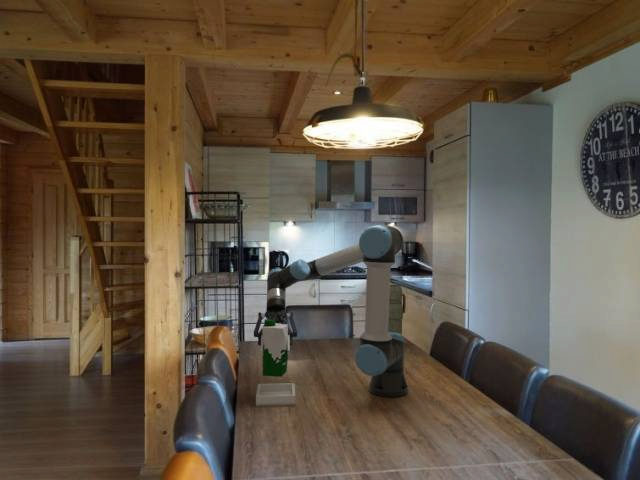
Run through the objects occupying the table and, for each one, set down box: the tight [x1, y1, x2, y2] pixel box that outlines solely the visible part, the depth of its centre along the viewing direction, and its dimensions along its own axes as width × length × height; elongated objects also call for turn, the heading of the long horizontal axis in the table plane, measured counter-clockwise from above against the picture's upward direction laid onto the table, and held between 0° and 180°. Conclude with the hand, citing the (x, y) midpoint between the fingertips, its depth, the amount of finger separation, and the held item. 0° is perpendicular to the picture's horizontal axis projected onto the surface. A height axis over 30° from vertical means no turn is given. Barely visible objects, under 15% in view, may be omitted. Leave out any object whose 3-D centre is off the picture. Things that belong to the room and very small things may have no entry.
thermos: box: [388, 284, 407, 335], centre depth 245 cm, size 9×12×35 cm
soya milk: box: [261, 318, 289, 378], centre depth 172 cm, size 9×9×20 cm
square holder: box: [255, 382, 296, 407], centre depth 171 cm, size 14×14×4 cm
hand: (275, 352), depth 168 cm, fingers closed on soya milk, 9 cm apart
